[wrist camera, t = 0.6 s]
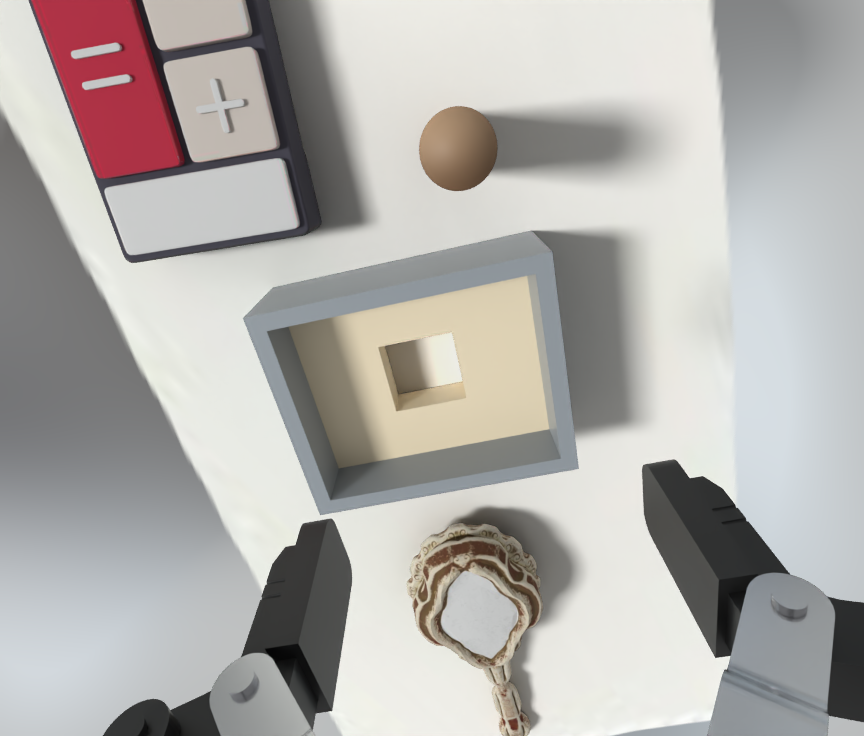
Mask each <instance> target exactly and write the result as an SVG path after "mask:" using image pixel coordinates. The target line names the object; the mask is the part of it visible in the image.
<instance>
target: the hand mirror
mask: <svg viewBox="0 0 864 736" xmlns="http://www.w3.org/2000/svg"><path fill="white" fill-rule="evenodd" d="M536 569H537V564H536V562H535V560H534V558H533V556H532V555H530V554H527V553H525V552H524V551H523V550H522V546H521V544H520V543H519V542H518V541H517V540H516V539H515V538H514V537H512V536H506V535H504V534H502V533H500V532H499V530H498V528H497V527H495V526H491V525H488V524H481V525H466V524H464V523H458V524H453V525H450V526H449V527H448V528H447V529H446V530H445V531H443V532H441V533H439V534H434V535H431V536H429V537H428V538H427V539H426V540H425V541H424V542H423V543H422V544H421V551H420V553H419V555H417V556H415V557H414V558H413V560H412V564H411V567H410V572H411V575H412V576H411V578H410V579H409V580H408V581H407V591H408V595H409V596H410V597H411V598H412V599H413V604H412V607H413V609H414V613H415V621H416V624H417V627H418V630H419V631H420V633H421V634H422V635H423V637H424V638H425V639H427V640H428V641H429V642H430V643H432V644H434V645H436V646H445V647H447V648H449V649H451V650H452V651H453V652H455V653H456V654H458V656H459V658H461V659H463V660H465V661H467V662H468V663H469V664H471V665H472V666H474V667H477V668H479V669H483V670H484V672H485V674H486V676H487V678H488V680H489V681H490V682H492V683H493V684H494V685H495V686H494V687H493V689H492V695H493V700H494V703H495V707H496V710H497V711H498V713H499V714H500V715H501V718H500V723H499V729H500V732H501V734H502V735H503V736H527V735H528V734H529V732H530V721H529V719H528V717H527V716H526V715H525V714H524V713H523V712H521V711H520V710H521V700H520V697H519V694H518V691H517V689H516V687H515V686H514V685H513V684H512V683H510V682H509V679H510V677H511V666H510V659H511V658H512V657H513V655H514V652H515V651H516V650H517V649H518V648H519V647H520V646H521V639H522V634H523V632H524V631H526V630H527V629H528V628H531V627H534V626H535V624H536V623H537V622H538V620H539V619H540V616H541V614H542V611H543V603H542V598H541V594H540V591H539V588H540V585H541V580H540V577H538V576H537V575H536Z"/></svg>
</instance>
